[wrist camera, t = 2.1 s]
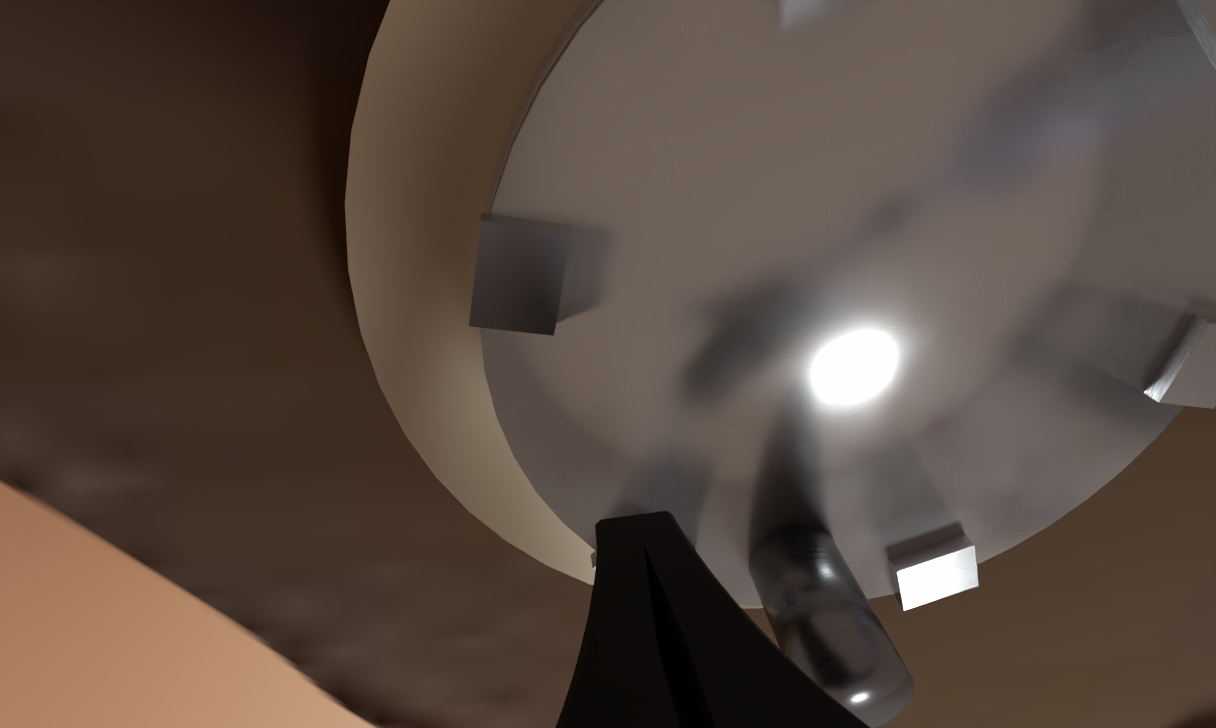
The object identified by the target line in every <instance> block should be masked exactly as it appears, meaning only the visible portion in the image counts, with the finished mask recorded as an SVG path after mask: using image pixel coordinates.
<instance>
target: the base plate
mask: <svg viewBox="0 0 1216 728" xmlns="http://www.w3.org/2000/svg"><path fill="white" fill-rule="evenodd" d="M584 1H585V0H390V2H389V5H388V8H387V10H386V13H385V15H384V18H383V21H382V23H381V26H380V28H379V31H378V33H377V36H376V39H375V41H374V44H373V46H372V49H371V52H370V54H369V58H368V62H367V66H366V71H365V75H364V79H363V83H362V88H361V92H360V96H359V100H358V105H357V109H356V113H355V118H354V122H353V126H352V130H351V140H350V151H349V162H348V173H347V185H346V196H345V217H346V236H347V255H348V271H349V277H350V282H351V287H352V292H353V297H354V302H355V307H356V312H357V317H358V322H359V327H360V332H361V335H362V338H363V340H364V343H365V346H366V349H367V352H368V354H369V357H370V360H371V363H372V366H373V369H374V371H375V374H376V377H377V380H378V383H379V386H380V388H381V390H382V392H383V393H384V395H385V397H386V399H387V401H388V403H389V405H390V407H391V409H392V411H393V412H394V414H395V416H396V418H397V420H398V422H399V424H400V426H401V428H402V430H403V431H404V433H405V435H406V437H407V438H408V439H409V441H410V442H411V443H412V445H413V446H414V448H415V449H416V450H417V452H418V453H419V454H420V456H421V457H422V459H423V460H424V461H425V463H426V464H427V465H428V467H429V468H430V470H431V471H432V472H433V474H434V475H435V477H436V478H437V479H438V480H439V481H440V482H441V483H442V484H443V485H444V486H445V487H446V488H447V489H448V490H449V491H450V492H451V493H452V494H453V495H454V496H455V497H456V498H457V499H458V500H459V501H460V502H461V504H462V505H463V506H464V507H465V508H466V509H467V510H468V511H469V512H470V513H472V514H473V515H474V516H475V517H477V518H478V519H479V520H480V521H482V522H483V523H484V524H485V525H487V526H488V527H489V528H491V529H492V530H493V531H494V532H496V533H497V534H498V535H499V536H501V537H502V538H503V539H504V540H506V541H507V542H509V543H510V544H512V545H514V546H515V547H517V548H519V549H520V550H522V551H524V552H525V553H527V554H529V555H530V556H532V557H534V558H535V559H537V560H539V561H540V562H542V563H544V564H545V565H547V566H549V567H552V568H554V569H556V570H558V571H561V572H563V573H565V574H568V575H570V576H572V577H574V578H577V579H579V580H581V581H583V582H586V583H588V584H591V585H594V579H595V570H594V569H593V568H592V561H591V554H592V553H593V552H594V551H595V550H594V549H593V548H592V547H590V546H589V545H588V544H587V543H586V542H585V541H583V540H582V539H581V538H580V537H579V536H578V535H576V534H575V533H574V532H573V531H572V530H571V529H569V528H568V527H567V526H566V525H565V524H564V523H563V522H562V521H561V520H560V519H559V518H558V517H557V516H556V514H555V513H554V512H553V511H552V510H551V509H550V508H549V506H548V505H547V504H546V503H545V502H544V501H543V500H542V498H541V497H540V496H539V495H538V494H537V493H536V491H535V490H534V488H533V486H532V485H531V483H530V482H529V480H528V478H527V477H526V475H525V474H524V472H523V471H522V469H521V467H520V466H519V464H518V463H517V461H516V460H515V458H514V456H513V454H512V451H511V449H510V447H509V445H508V442H507V440H506V438H505V435H504V433H503V431H502V428H501V426H500V424H499V422H498V419H497V417H496V413H495V410H494V406H493V402H492V398H491V394H490V390H489V387H488V383H487V379H486V375H485V371H484V362H483V352H482V343H481V333H480V328H479V327H470V326H469V320H470V310H471V301H472V292H473V283H474V273H475V264H476V255H477V246H478V237H479V228H480V219H481V212H482V213H486V211H487V206H488V200H489V195H490V189H491V184H492V179H493V174H494V171H495V168H496V165H497V162H498V159H499V156H500V153H501V150H502V147H503V144H504V141H505V137H506V134H507V131H508V128H509V125H510V122H511V120H512V118H513V116H514V114H515V112H516V110H517V108H518V106H519V104H520V102H521V99H522V97H523V95H524V93H525V91H526V89H527V87H528V85H529V83H530V81H531V79H532V77H533V75H534V73H535V70H536V69H537V67H538V66H539V64H540V63H541V61H542V59H543V58H544V56H545V55H546V53H547V52H548V50H549V49H550V47H551V46H552V44H553V43H554V41H555V40H556V38H557V37H558V35H559V34H560V32H561V31H562V29H563V27H564V26H565V24H566V23H567V21H568V20H569V18H570V17H571V16H572V15H573V14H574V12H575V11H576V10H577V9H578V8H579V7H580V5H581V4H582V3H583V2H584ZM739 606H740V607H741V608H763V607H762V606H750V605H739Z"/></svg>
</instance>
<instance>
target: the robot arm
mask: <svg viewBox="0 0 1216 728" xmlns="http://www.w3.org/2000/svg"><path fill="white" fill-rule="evenodd" d="M595 532H596V544H597V557H596V569H595V579H594V585H593V591H592V597H591V603H590V609H589V615H588V620H587V624H586V628H585V632H584V636H583V641H582V645H581V649H580V653H579V657H578V661H577V664H576V668H575V671H574V675H573V678H572V681H571V684H570V688H569V691H568V694H567V697H566V700H565V703H564V706H563V709H562V712H561V714H560V717H559V720H558V723H557V725H556V728H870V727H869V726H868V725H867V724H865V723H864V722H863V721H862V720H860V719H859V718H858V717H856V716H855V715H854V714H853V713H851V712H850V711H849V710H848V709H846V708H845V707H844V706H843V705H841V704H840V703H839V702H837V701H836V700H835V699H834V698H832V697H831V696H830V695H829V694H828V693H827V692H826V691H824V690H823V689H822V688H821V687H820V686H819V685H818V684H816V683H815V682H814V681H813V680H812V679H811V678H810V677H809V676H807V675H806V674H805V673H804V672H803V671H802V670H801V669H800V668H799V667H798V666H797V665H796V664H795V663H793V662H792V661H791V660H790V659H789V658H788V657H787V656H786V655H785V654H784V653H783V652H782V651H781V650H780V649H779V648H778V647H777V646H776V645H775V644H774V643H773V642H772V641H771V640H770V639H769V638H768V637H767V636H766V635H765V634H764V633H763V632H762V630H761V629H760V628H759V627H758V626H757V625H756V624H755V623H754V622H753V621H752V620H751V618H750V617H749V616H748V615H747V614H746V613H745V612H744V611H743V609H742V608H741V607H740V606H739V605H738V604H737V603H736V601H735V600H734V599H733V598H732V597H731V595H730V594H729V593H728V592H727V590H726V589H725V588H724V587H723V586H722V584H721V583H720V582H719V581H718V579H717V578H716V577H715V576H714V574H713V573H712V572H711V571H710V569H709V568H708V567H707V565H706V564H705V563H704V561H703V560H702V558H701V557H700V556H699V554H698V553H697V552H696V550H695V549H694V547H693V546H692V544H691V543H690V542H689V540H688V539H687V537H686V536H685V534H684V533H683V531H682V529H681V528H680V526H679V525H678V523H677V521H676V520H675V518H674V516H673V515H672V514H671V513H670V512H668V511H659V512H652V513H645V514H637V515H630V516H622V517H615V518H607V519H601V520H600V521H599V522H598V523H597V524H595Z"/></svg>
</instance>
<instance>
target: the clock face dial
mask: <svg viewBox="0 0 1216 728" xmlns="http://www.w3.org/2000/svg"><path fill="white" fill-rule="evenodd" d="M469 326H470V327H479V328H480V333H481V343H482V352H483V362H484V371H485V375H486V379H487V383H488V387H489V390H490V394H491V398H492V402H493V406H494V410H495V413H496V417H497V419H498V422H499V424H500V426H501V428H502V431H503V433H504V435H505V438H506V440H507V442H508V445H509V447H510V449H511V451H512V454H513V456H514V458H515V460H516V461H517V463H518V464H519V466H520V467H521V469H522V471H523V472H524V474H525V475H526V477H527V478H528V480H529V482H530V483H531V485H532V486H533V488H534V490H535V491H536V493H537V494H538V495H539V496H540V497H541V498H542V500H543V501H544V502H545V503H546V504H547V505H548V506H549V508H550V509H551V510H552V511H553V512H554V513H555V514H556V516H557V517H558V518H559V519H560V520H561V521H562V522H563V523H564V524H565V525H566V526H567V527H568V528H569V529H571V530H572V531H573V532H574V533H575V534H576V535H578V536H579V537H580V538H581V539H582V540H583V541H585V542H586V543H587V544H588V545H589V546H590V547H592V548H593V549H594V550H595V551H594V552H593V553H592V554H591V561H592V568H593V569H594V570H595V569H596V557H597V544H596V532H595V524H597V523H598V522H599V521H600V520H601V519H607V518H615V517H622V516H630V515H637V514H645V513H652V512H659V511H668V512H670V513H671V514H672V515H673V516H674V518H675V520H676V521H677V523H678V525H679V526H680V528H681V529H682V531H683V533H684V534H685V536H686V537H687V539H688V540H689V542H690V543H691V544H692V546H693V547H694V549H695V550H696V552H697V553H698V554H699V556H700V557H701V558H702V560H703V561H704V563H705V564H706V565H707V567H708V568H709V569H710V571H711V572H712V573H713V574H714V576H715V577H716V578H717V579H718V581H719V582H720V583H721V584H722V586H723V587H724V588H725V589H726V590H727V592H728V593H729V594H730V595H731V597H732V598H733V599H734V600H735V601H736V603H737V604H738V605H750V606H762V607H763V608H764V610H765V613H766V615H767V618H768V620H769V623H770V625H771V627H772V630H773V632H774V635H775V637H776V640H777V642H778V645H779V647H780V650H781V651H782V652H783V653H784V654H785V655H786V656H787V657H788V658H789V659H790V660H791V661H792V662H793V663H795V664H796V665H797V666H798V667H799V668H800V669H801V670H802V671H803V672H804V673H805V674H806V675H807V676H809V677H810V678H811V679H812V680H813V681H814V682H815V683H816V684H818V685H819V686H820V687H821V688H822V689H823V690H824V691H826V692H827V693H828V694H829V695H830V696H831V697H832V698H834V699H835V700H836V701H837V702H839V703H840V704H841V705H843V706H844V707H845V708H846V709H848V710H849V711H850V712H851V713H853V714H854V715H855V716H856V717H858V718H859V719H860V720H862V721H863V722H864V723H865V724H867V725H868V726H869V727H870V728H877V727H879V726H881V725H883V724H885V723H886V722H888V721H890V720H891V719H893V718H894V717H895V716H897V715H898V714H899V713H900V712H901V711H902V710H903V709H904V708H905V707H906V706H907V704H908V703H909V702H910V700H911V698H912V696H913V692H914V681H913V679H912V677H911V675H910V673H909V672H908V670H907V668H906V666H905V664H904V663H903V661H902V659H901V657H900V656H899V654H898V652H897V650H896V649H895V647H894V645H893V643H892V642H891V640H890V638H889V636H888V635H887V633H886V631H885V629H884V628H883V626H882V624H881V622H880V621H879V619H878V617H877V615H876V614H875V612H874V610H873V608H872V607H871V605H870V603H869V601H868V600H867V599H871V598H876V597H881V596H886V595H890V594H894V593H895V596H896V599H897V600H898V602H899V604H900V605H901V607H902V608H903V610H904V611H905V610H908V609H911V608H914V607H917V606H920V605H923V604H926V603H929V602H932V601H935V600H938V599H940V598H943V597H946V596H949V595H952V594H955V593H958V592H961V591H964V590H967V589H970V588H973V587H976V586H978V576H977V564H979V563H981V562H983V561H985V560H987V559H989V558H991V557H993V556H995V555H997V554H1000V553H1002V552H1004V551H1006V550H1008V549H1010V548H1012V547H1013V546H1015V545H1017V544H1019V543H1020V542H1022V541H1024V540H1025V539H1027V538H1029V537H1031V536H1032V535H1034V534H1036V533H1037V532H1039V531H1041V530H1043V529H1044V528H1046V527H1048V526H1049V525H1051V524H1052V523H1054V522H1055V521H1057V520H1058V519H1059V518H1061V517H1062V516H1064V515H1065V514H1067V513H1068V512H1070V511H1071V510H1072V509H1074V508H1075V507H1077V506H1078V505H1080V504H1081V503H1083V502H1084V501H1085V500H1087V499H1088V498H1089V497H1090V496H1092V495H1093V494H1094V493H1095V492H1097V491H1098V490H1099V489H1100V488H1101V487H1103V486H1104V485H1105V484H1106V483H1108V482H1109V481H1110V480H1111V479H1112V478H1114V477H1115V476H1116V475H1117V474H1119V473H1120V472H1121V471H1122V470H1123V469H1124V468H1125V467H1127V466H1128V465H1129V464H1130V463H1131V462H1132V461H1133V460H1134V459H1135V458H1136V457H1137V456H1138V455H1139V454H1140V453H1141V452H1142V451H1143V450H1144V449H1145V448H1146V447H1147V446H1148V445H1149V444H1150V443H1152V442H1153V441H1154V440H1155V439H1156V438H1157V437H1158V436H1159V434H1160V433H1161V432H1162V431H1163V430H1164V429H1165V428H1166V426H1167V425H1168V424H1169V423H1170V422H1171V421H1172V420H1173V419H1174V417H1175V416H1176V415H1177V414H1178V413H1179V412H1180V411H1181V410H1182V408H1183V407H1184V406H1194V407H1203V408H1212V409H1214V408H1215V406H1216V0H585V1H584V2H583V3H582V4H581V5H580V7H579V8H578V9H577V10H576V11H575V12H574V14H573V15H572V16H571V17H570V18H569V20H568V21H567V23H566V24H565V26H564V27H563V29H562V31H561V32H560V34H559V35H558V37H557V38H556V40H555V41H554V43H553V44H552V46H551V47H550V49H549V50H548V52H547V53H546V55H545V56H544V58H543V59H542V61H541V63H540V64H539V66H538V67H537V69H536V70H535V73H534V75H533V77H532V79H531V81H530V83H529V85H528V87H527V89H526V91H525V93H524V95H523V97H522V99H521V102H520V104H519V106H518V108H517V110H516V112H515V114H514V116H513V118H512V120H511V122H510V125H509V128H508V131H507V134H506V137H505V141H504V144H503V147H502V150H501V153H500V156H499V159H498V162H497V165H496V168H495V171H494V174H493V179H492V184H491V189H490V195H489V200H488V206H487V211H486V213H482V212H481V219H480V228H479V237H478V246H477V255H476V264H475V273H474V283H473V292H472V301H471V310H470V320H469Z"/></svg>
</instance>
